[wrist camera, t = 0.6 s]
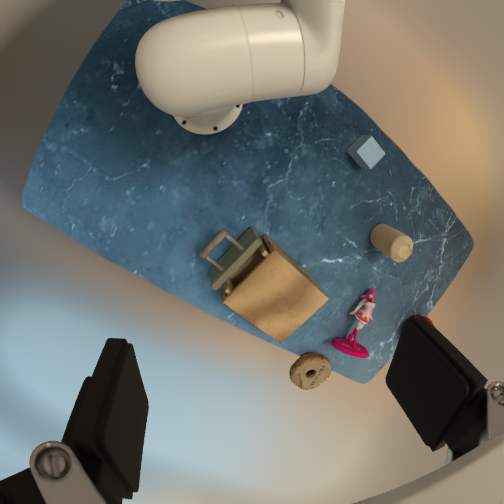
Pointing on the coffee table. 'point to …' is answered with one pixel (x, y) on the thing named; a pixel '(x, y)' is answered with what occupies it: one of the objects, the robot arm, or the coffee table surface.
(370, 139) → the block
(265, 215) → the coffee table surface
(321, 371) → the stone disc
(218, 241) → the drawer
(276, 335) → the cabinet
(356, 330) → the figurine
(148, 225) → the coffee table surface
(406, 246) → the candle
